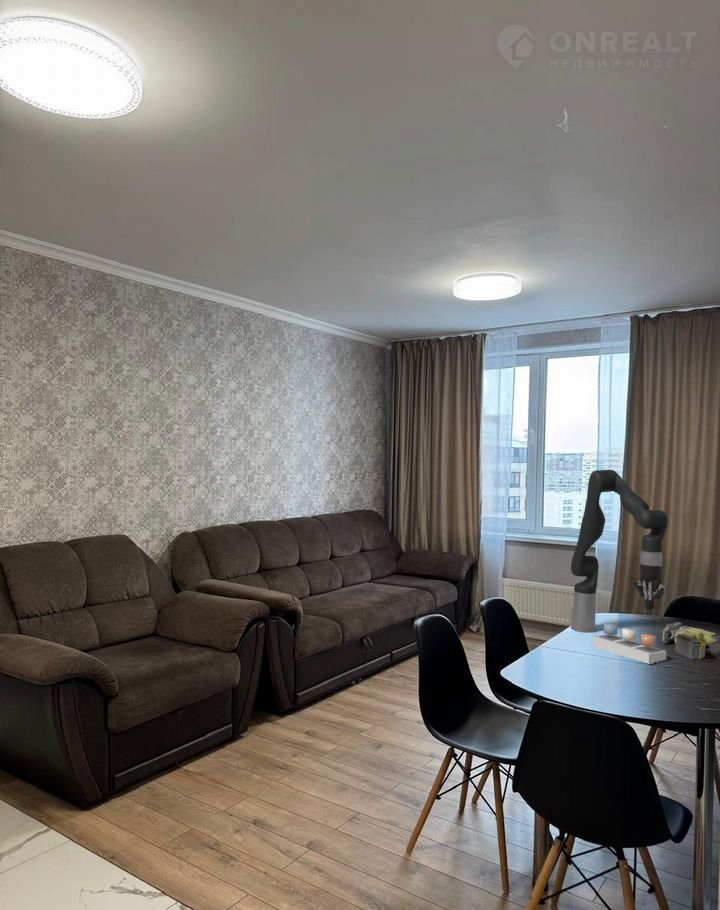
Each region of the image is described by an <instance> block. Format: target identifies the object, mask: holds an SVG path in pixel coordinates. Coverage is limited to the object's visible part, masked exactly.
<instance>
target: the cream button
mask: <svg viewBox="0 0 720 910" xmlns="http://www.w3.org/2000/svg"><path fill="white" fill-rule="evenodd" d="M621 637H622V639H624V640H628V641H635V642H636V641H637V630H636V629H634V628H629V627H623V628H621Z"/></svg>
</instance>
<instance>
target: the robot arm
mask: <svg viewBox="0 0 720 910" xmlns="http://www.w3.org/2000/svg"><path fill="white" fill-rule="evenodd" d="M587 484H588V485H587V494H586V500H585V507H584V512H583V516H582V519H581V524H580V529H579V533H578V534H579V535H578V538H577V539H578V540H577V543H576V546H575V549H574V552H573V555H572V558H571V563H570V564H571V565H570V570H571V573H572V575H573V576H575V577H583V578H585V577H586V578H585V579H584V580H582V581H581V582H577V583H575V584H574V586H573V587H574V589H573V606H571V614H570V615H571V616H570V617H571V619H570V629H571V630H573V631H574V632H577V633H584V634H590V633H591V634H592V633H595V632H596V630H595V629H596V609H597V608H596V607H597V606H596V605H597V604H596V603H597V588H598V579H599V578H598V576H599V566H600V565H599V561H598V558H597V556H595V555H587V552H588V550H590V548H591V547H592V546H593V545H594V544H595V543H596V542H597V541H598V540H599V539H600V538H601V536H602V535H603V533H604V529H605V525H606V517H605V514H604V512H603V509H602V507H601V505H600V499H601V495H602V493H608V492H609V493H610V492H614V493H616V494H618V495H619V500H620V504H621V506H622V507H623V508H624V509H625V510H626V511H627V512H628V513H630V514H631V515H632V517H633V518H634V520H635V522H636V523H637V525H638V526H639V527H641V528H642V529H647V530H650V532H649V533H648V534H644V535H643V536H642V537H641V544H640V545H641V547H640V548H641V549H640V550H641V551H640V555H639V557H640V558H639V559H640V561H639V575H640V577H639V579H638V581H634V582H633V585H634V587H635V589H636V590H637V592H638V594H639V596H640V597H642V598H643V599H644V600H645V601H644V608H645V610H648V611H653V610H654V608H655V601H656V600H660V599H661V598H662V597H663V595H665V593H666V592H667V591H668V588H667V587H665V586H664V584H663V582H662V576H663V573H662V572H663V553H662V552H663V540H664V537H665V534H666V531H667V528H668V524H669V519H668V515H667V514H666V512H665V511H663V510H662V509H661V510H660V509H650V506H649V504H648V503H647V502H646V501H645V499H643V498H641V497H640V496H639V495H638V494H637V493H635V492H634V491H633V490H632V489H631V487H630V486H629V485H628V483H627V482H626V481H625V480H624V479H623V478H622V477H621V476H620V474H619V473H618V472H616V470H613V469H599V470H593V471H592V472H591V473H590V476H589V478H588V483H587Z"/></svg>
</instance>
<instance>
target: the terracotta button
mask: <svg viewBox="0 0 720 910" xmlns="http://www.w3.org/2000/svg"><path fill="white" fill-rule="evenodd" d="M640 639H641V640H640V643H641V645H644V646H648V647H655V648H656V646H657V636H656V635H655V634H651V633H642V634H641V637H640Z"/></svg>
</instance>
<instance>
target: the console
mask: <svg viewBox="0 0 720 910" xmlns="http://www.w3.org/2000/svg"><path fill="white" fill-rule="evenodd" d="M592 639H593V640H592V647H593V648H597V649H599V650H602V651H605V652H608V653H611V654H615V655H618V656H621V657H622V656H625V657H624V658H626V657H628V658H627V659H629V658H631V659H630V660H633V659H635V660H634V661H636V660H638V661H637V662H640V661H642V662H641V663H643V662H645V663H648V664H650V663H655V662H656V663H660V662H659V661H661V662H664V661H663V660H666V661H667V650H664V649H661V648H657V647H656V646H655V647H648V646H644V645H641V642H638V641H636V640H635V641H628V640H624V639H622V636H618V635H608V634H601V635H596V636H593V638H592Z"/></svg>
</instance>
